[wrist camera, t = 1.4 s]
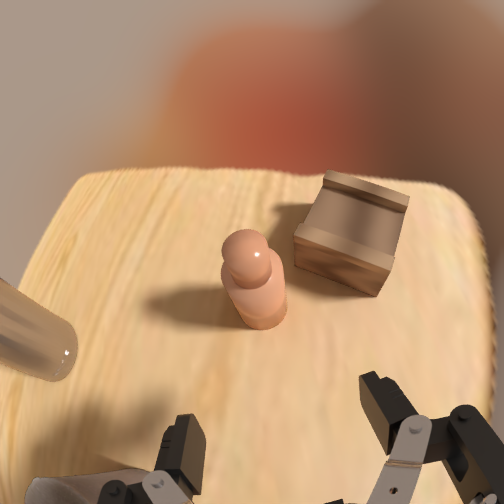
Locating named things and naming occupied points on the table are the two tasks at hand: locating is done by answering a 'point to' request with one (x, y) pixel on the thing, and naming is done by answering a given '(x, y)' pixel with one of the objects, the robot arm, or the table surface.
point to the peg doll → (254, 279)
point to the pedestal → (351, 232)
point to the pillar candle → (77, 487)
